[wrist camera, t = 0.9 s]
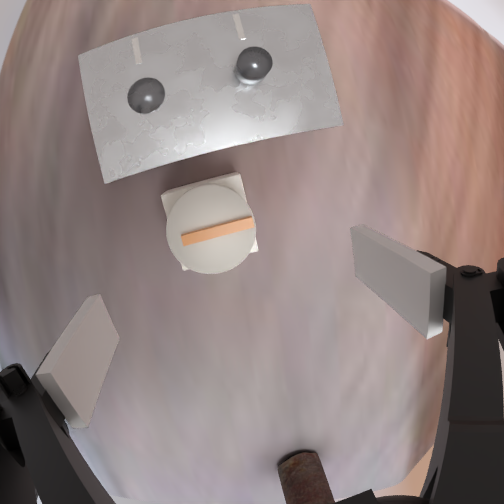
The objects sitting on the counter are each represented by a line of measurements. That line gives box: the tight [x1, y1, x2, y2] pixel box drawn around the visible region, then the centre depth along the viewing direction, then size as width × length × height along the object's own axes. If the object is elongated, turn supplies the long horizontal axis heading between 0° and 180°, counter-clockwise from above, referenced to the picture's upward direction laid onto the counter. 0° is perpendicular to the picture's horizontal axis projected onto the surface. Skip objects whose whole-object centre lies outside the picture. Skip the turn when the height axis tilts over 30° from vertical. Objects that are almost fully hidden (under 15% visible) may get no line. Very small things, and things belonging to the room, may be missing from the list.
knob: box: [161, 172, 259, 274], centre depth 27 cm, size 7×7×8 cm
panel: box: [78, 4, 343, 184], centre depth 25 cm, size 24×14×4 cm, turn 103°
